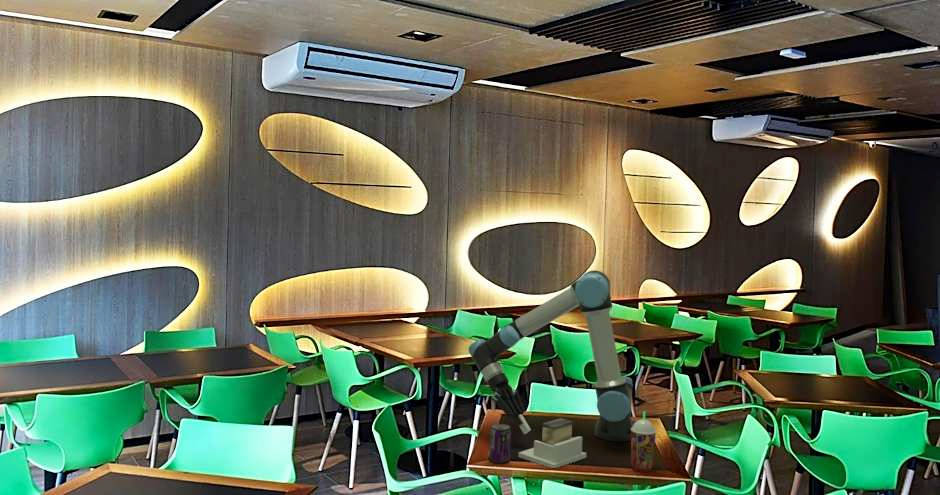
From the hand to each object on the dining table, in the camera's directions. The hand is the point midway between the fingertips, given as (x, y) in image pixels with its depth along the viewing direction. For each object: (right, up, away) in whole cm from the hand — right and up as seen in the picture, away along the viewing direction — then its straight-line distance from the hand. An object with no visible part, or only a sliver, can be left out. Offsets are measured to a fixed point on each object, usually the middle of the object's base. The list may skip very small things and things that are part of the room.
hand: (527, 431), depth 286 cm
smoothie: (+37, -9, -18) cm, 42 cm away
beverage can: (-10, -7, -13) cm, 18 cm away
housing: (+8, -7, -8) cm, 13 cm away
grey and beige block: (+9, -5, -9) cm, 14 cm away
